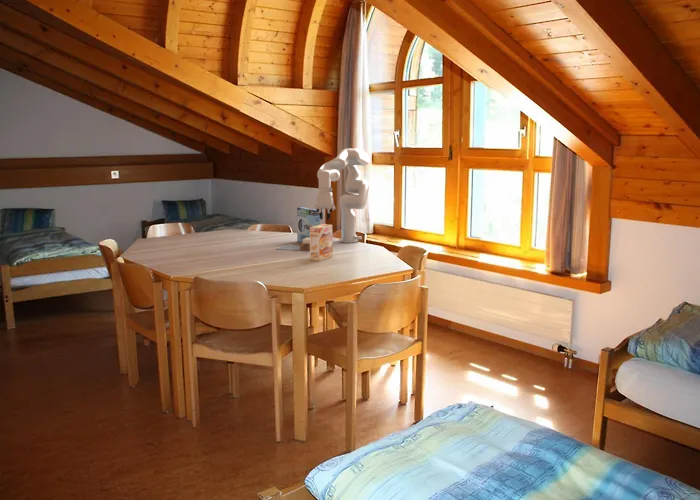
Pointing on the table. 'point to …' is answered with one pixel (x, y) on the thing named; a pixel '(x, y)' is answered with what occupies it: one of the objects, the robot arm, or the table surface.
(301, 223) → the gum box
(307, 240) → the cream coaster
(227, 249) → the table surface
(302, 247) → the board
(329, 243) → the coffeecake box
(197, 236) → the table surface
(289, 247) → the slate mat
